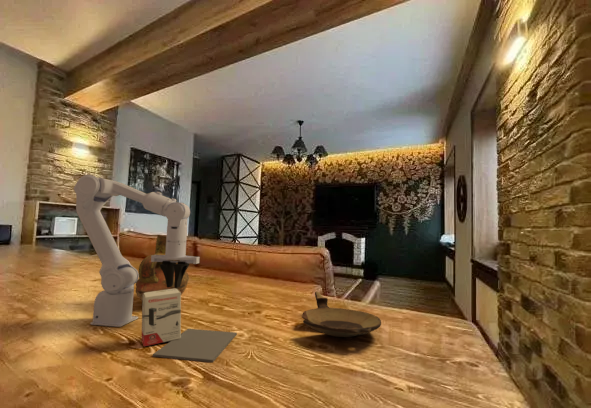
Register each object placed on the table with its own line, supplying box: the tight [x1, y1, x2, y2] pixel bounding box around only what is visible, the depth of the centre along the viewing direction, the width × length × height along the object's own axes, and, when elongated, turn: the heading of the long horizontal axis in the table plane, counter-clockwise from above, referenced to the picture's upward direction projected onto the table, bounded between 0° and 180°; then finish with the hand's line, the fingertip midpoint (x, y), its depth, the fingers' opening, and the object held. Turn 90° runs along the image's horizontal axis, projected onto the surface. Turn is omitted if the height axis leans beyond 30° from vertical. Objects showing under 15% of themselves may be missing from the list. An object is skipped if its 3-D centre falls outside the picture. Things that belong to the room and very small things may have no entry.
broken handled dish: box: [301, 290, 382, 338], centre depth 84 cm, size 22×30×8 cm
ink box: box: [141, 288, 182, 347], centre depth 72 cm, size 8×5×12 cm, turn 123°
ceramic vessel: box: [135, 234, 190, 302], centre depth 106 cm, size 17×26×25 cm, turn 172°
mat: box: [152, 328, 238, 363], centre depth 70 cm, size 14×16×1 cm
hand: (173, 286), depth 86 cm, fingers closed
